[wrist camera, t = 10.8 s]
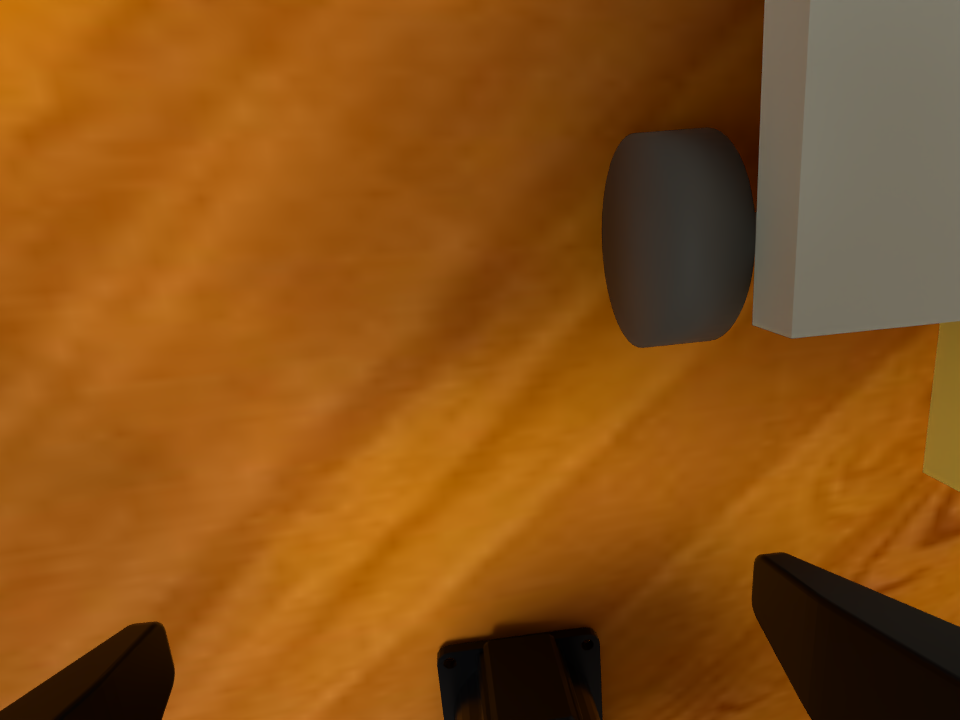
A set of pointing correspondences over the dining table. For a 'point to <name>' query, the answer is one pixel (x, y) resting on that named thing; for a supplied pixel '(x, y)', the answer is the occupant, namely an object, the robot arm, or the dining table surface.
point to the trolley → (803, 187)
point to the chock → (945, 410)
